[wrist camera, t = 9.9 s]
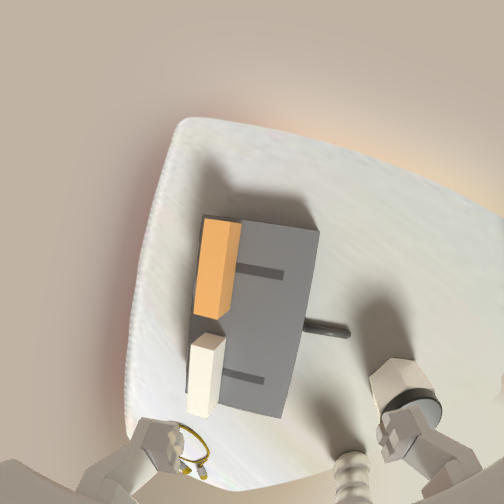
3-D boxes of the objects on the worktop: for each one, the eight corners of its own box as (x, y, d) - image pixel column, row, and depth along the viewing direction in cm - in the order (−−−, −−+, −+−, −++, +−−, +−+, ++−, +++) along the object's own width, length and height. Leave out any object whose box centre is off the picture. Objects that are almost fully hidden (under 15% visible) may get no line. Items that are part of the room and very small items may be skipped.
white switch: (226, 337, 36) (213, 350, 31) (218, 402, 37) (206, 419, 32) (205, 332, 36) (190, 344, 32) (199, 396, 37) (186, 412, 33)
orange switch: (241, 223, 34) (230, 221, 30) (229, 309, 35) (217, 319, 31) (219, 220, 35) (204, 218, 30) (208, 304, 36) (193, 313, 31)
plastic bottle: (362, 468, 37) (367, 547, 18) (329, 467, 39) (323, 549, 19) (373, 447, 37) (384, 530, 17) (337, 446, 38) (336, 533, 19)
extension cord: (159, 457, 48) (155, 462, 46) (161, 413, 46) (156, 418, 44) (207, 478, 45) (204, 483, 43) (218, 436, 44) (214, 443, 42)
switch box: (369, 240, 36) (376, 241, 31) (327, 408, 38) (327, 426, 33) (212, 216, 41) (198, 213, 36) (194, 378, 43) (182, 391, 38)
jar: (387, 410, 36) (401, 456, 24) (357, 385, 37) (367, 432, 25) (428, 374, 34) (455, 413, 23) (400, 345, 35) (426, 383, 24)
